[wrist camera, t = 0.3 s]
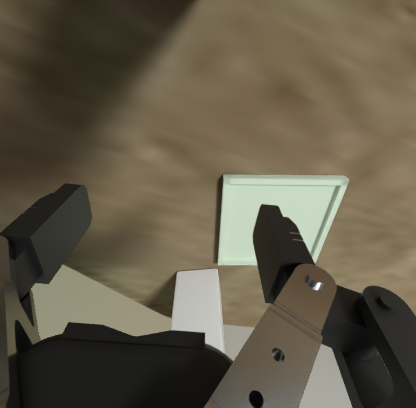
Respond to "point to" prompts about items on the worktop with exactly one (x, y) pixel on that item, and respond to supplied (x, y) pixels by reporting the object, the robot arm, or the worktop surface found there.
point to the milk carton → (199, 305)
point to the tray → (289, 205)
